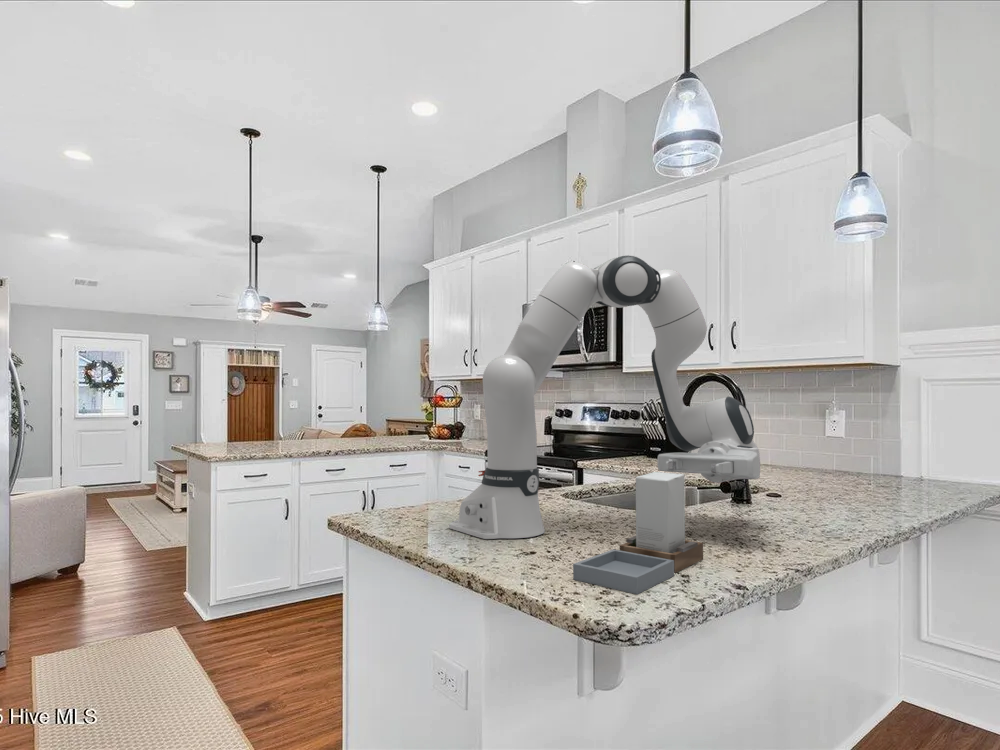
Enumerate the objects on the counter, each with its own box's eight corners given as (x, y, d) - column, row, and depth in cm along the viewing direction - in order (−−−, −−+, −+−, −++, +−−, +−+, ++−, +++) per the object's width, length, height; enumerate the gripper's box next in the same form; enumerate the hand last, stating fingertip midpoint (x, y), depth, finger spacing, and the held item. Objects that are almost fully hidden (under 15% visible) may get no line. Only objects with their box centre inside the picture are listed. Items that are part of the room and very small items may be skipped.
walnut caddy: (618, 561, 108) (618, 541, 108) (649, 549, 117) (649, 531, 117) (676, 573, 101) (675, 551, 101) (704, 559, 110) (703, 539, 110)
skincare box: (654, 553, 114) (653, 471, 115) (688, 559, 110) (686, 473, 111) (634, 562, 108) (633, 475, 109) (669, 569, 104) (667, 478, 104)
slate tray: (573, 579, 98) (573, 563, 98) (613, 563, 107) (613, 549, 108) (637, 594, 90) (636, 577, 90) (674, 575, 100) (674, 560, 100)
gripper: (672, 445, 136) (643, 449, 126) (766, 448, 123) (742, 453, 113) (673, 472, 136) (644, 479, 126) (767, 479, 123) (743, 487, 112)
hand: (691, 467), depth 119 cm, fingers open, 8 cm apart
